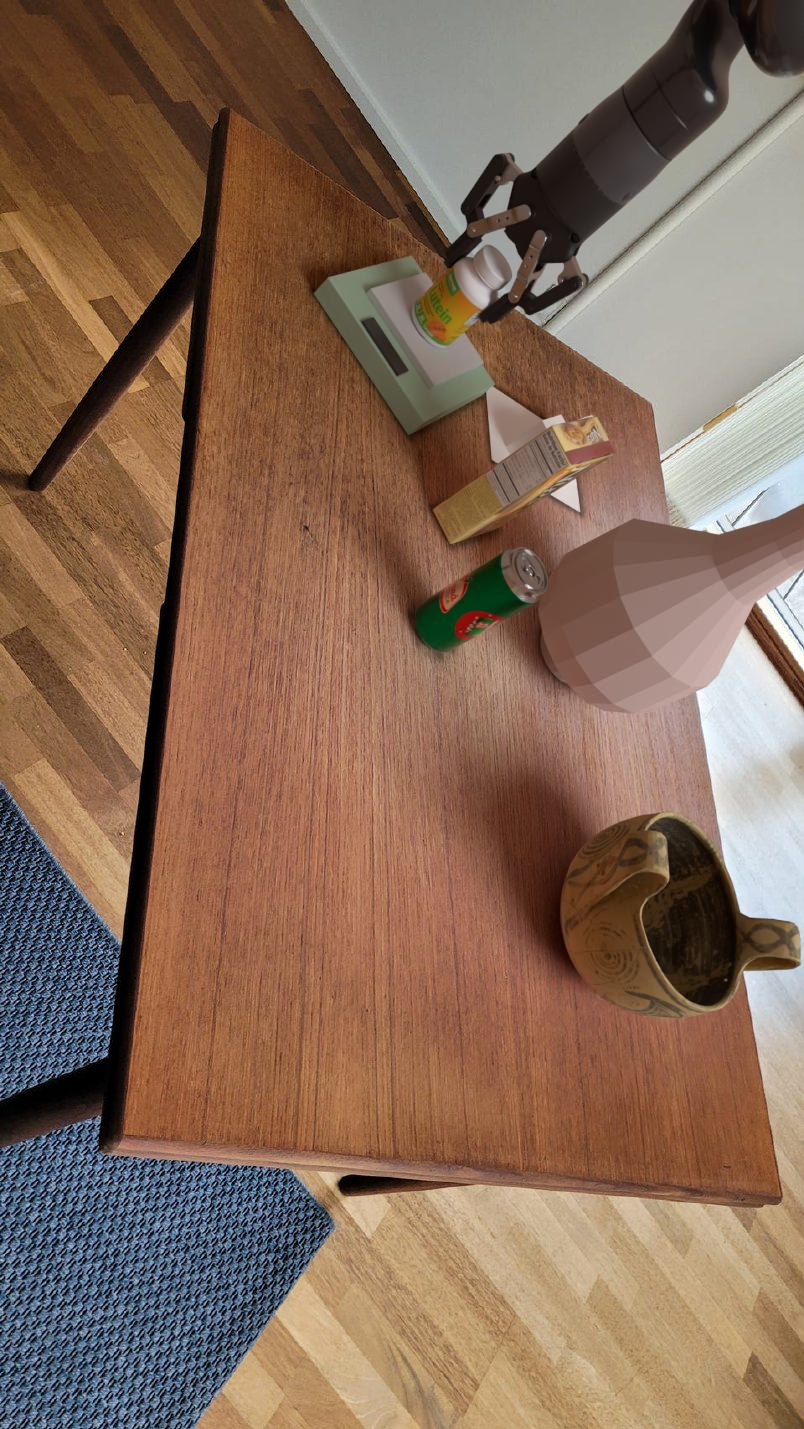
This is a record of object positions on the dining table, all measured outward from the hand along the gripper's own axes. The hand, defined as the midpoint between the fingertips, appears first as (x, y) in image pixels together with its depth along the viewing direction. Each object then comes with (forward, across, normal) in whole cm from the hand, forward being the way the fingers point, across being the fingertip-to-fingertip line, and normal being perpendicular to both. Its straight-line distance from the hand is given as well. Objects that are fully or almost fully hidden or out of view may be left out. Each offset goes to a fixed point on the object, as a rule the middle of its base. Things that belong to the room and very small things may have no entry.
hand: (466, 291), depth 89 cm
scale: (+9, 0, +1) cm, 9 cm away
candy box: (+9, -18, +9) cm, 22 cm away
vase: (+9, -35, +8) cm, 37 cm away
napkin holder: (+9, -16, -10) cm, 21 cm away
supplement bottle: (+6, 0, 0) cm, 6 cm away
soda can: (+9, -24, +23) cm, 35 cm away
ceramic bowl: (+9, -54, +29) cm, 62 cm away
